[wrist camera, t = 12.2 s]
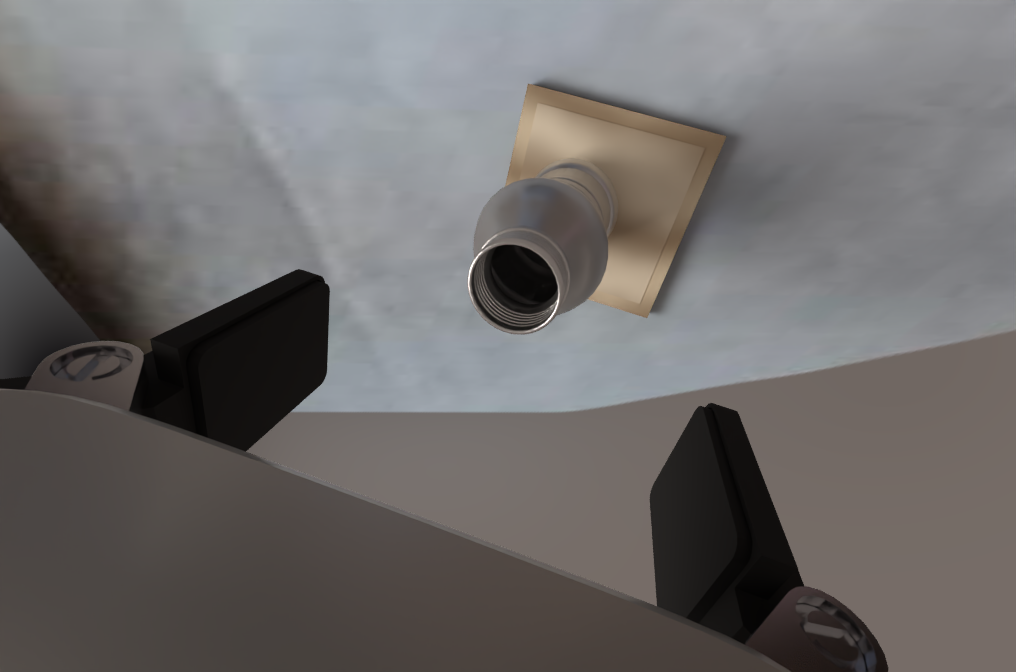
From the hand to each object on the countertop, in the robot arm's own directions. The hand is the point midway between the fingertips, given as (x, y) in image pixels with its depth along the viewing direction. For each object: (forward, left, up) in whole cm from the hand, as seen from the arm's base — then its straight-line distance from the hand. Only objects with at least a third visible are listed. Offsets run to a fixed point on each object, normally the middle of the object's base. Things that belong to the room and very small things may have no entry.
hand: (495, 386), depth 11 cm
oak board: (0, 0, -27) cm, 27 cm away
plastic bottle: (0, -1, -26) cm, 26 cm away
